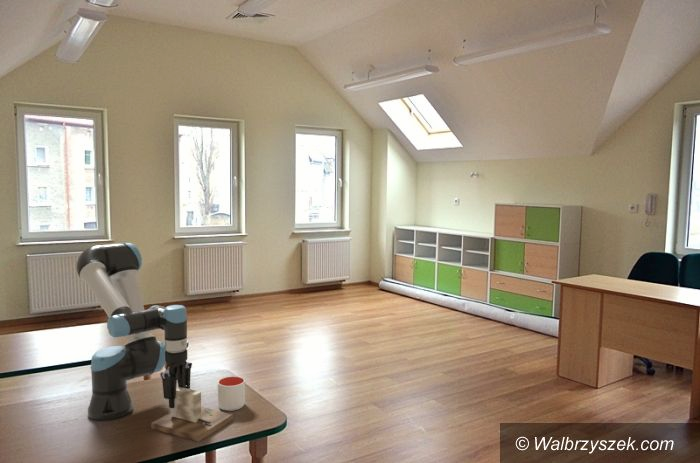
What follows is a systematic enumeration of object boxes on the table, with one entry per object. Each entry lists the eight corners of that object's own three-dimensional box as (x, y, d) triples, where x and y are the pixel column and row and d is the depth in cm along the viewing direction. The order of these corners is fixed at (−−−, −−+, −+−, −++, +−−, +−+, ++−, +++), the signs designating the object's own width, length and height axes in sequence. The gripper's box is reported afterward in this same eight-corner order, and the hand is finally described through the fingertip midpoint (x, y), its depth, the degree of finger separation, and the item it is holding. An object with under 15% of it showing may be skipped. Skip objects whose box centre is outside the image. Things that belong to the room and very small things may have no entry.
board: (151, 428, 187) (151, 422, 187) (187, 408, 203) (187, 402, 203) (198, 441, 178) (198, 435, 178) (232, 419, 194) (232, 413, 194)
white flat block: (171, 416, 192) (170, 389, 191) (177, 413, 194) (176, 386, 193) (207, 425, 185) (206, 397, 184) (212, 422, 187) (212, 394, 186)
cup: (238, 413, 200) (238, 387, 199) (213, 410, 202) (213, 384, 201) (248, 402, 210) (248, 377, 209) (224, 399, 212) (224, 375, 211)
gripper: (167, 358, 181) (169, 425, 183) (200, 344, 195) (201, 407, 198) (150, 354, 184) (152, 420, 187) (184, 341, 199) (185, 403, 201)
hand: (177, 413), depth 192 cm, fingers closed on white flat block, 3 cm apart
